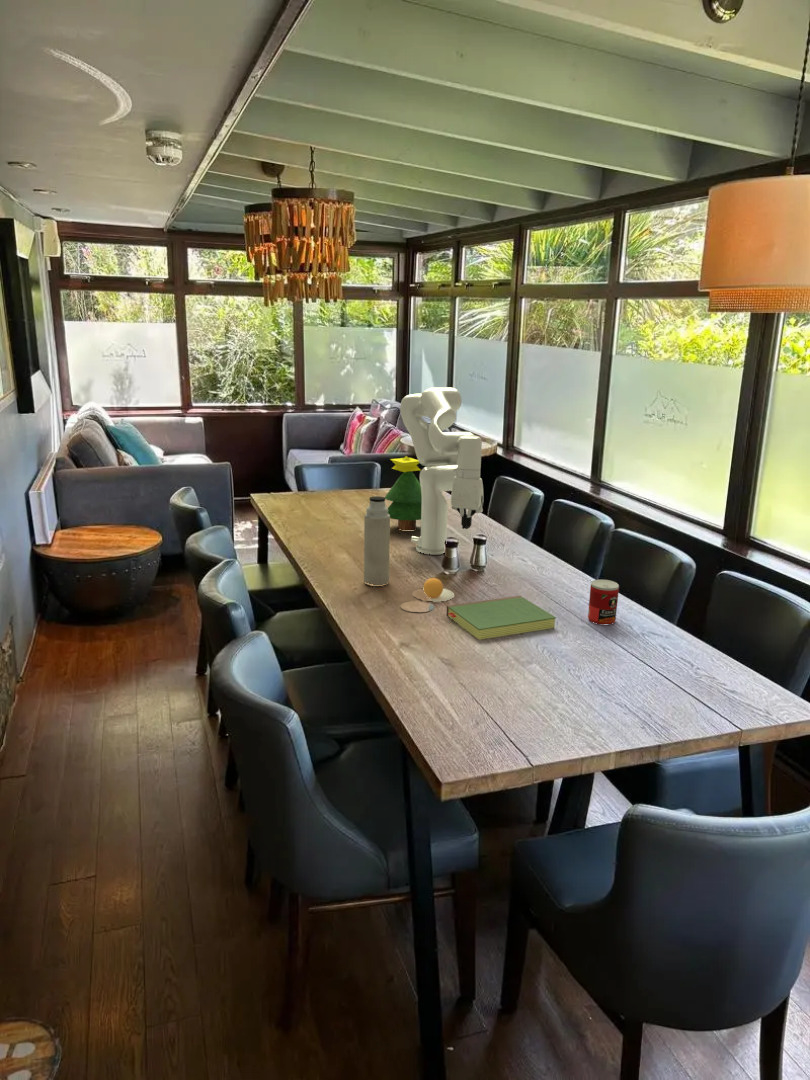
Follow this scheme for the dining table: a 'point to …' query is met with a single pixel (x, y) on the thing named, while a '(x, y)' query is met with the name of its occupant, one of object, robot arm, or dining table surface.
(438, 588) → the ball
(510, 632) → the hardcover book
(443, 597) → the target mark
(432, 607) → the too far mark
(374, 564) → the thermos bottle
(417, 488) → the decorative tree
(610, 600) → the canned food
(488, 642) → the dining table surface
